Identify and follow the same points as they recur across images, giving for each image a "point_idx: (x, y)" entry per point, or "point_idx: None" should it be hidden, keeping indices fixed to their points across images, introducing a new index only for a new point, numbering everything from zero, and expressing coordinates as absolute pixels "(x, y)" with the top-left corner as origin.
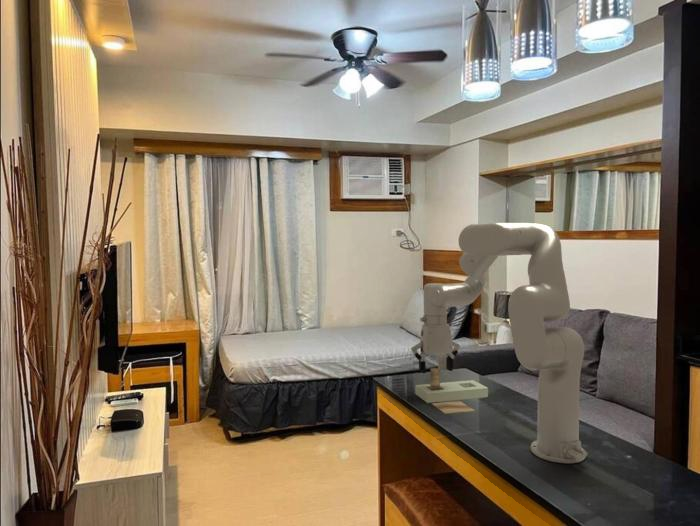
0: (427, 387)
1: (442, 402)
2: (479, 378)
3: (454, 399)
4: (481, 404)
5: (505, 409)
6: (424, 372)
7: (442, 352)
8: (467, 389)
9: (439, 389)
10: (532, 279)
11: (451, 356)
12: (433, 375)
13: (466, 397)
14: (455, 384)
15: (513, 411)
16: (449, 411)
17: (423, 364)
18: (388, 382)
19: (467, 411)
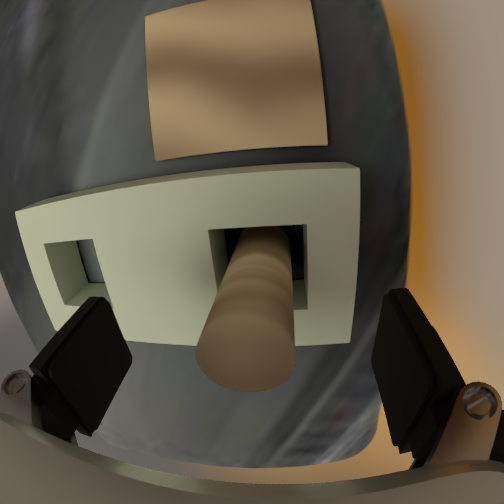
0: (294, 307)
1: (258, 147)
2: None
3: (176, 175)
4: (81, 129)
5: (37, 73)
6: (402, 291)
7: (66, 489)
8: (84, 203)
9: (238, 247)
10: None
11: (20, 394)
12: (280, 299)
13: (113, 185)
14: (125, 302)
15: (28, 57)
16: (275, 10)
17: (441, 355)
18: (351, 436)
19: (183, 6)
